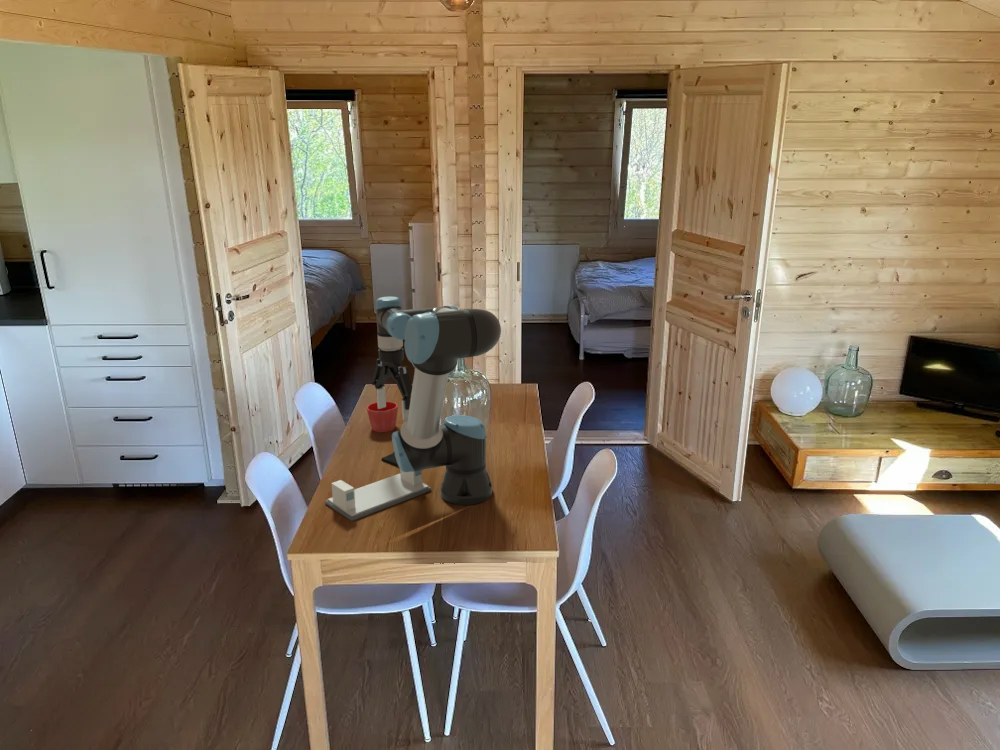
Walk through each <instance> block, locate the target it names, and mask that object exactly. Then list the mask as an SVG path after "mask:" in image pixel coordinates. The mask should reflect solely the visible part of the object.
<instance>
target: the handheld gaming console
mask: <svg viewBox="0 0 1000 750" xmlns="http://www.w3.org/2000/svg"><path fill="white" fill-rule="evenodd" d="M381 461H383V462H385V463H387V464H390V465H392V466H395V467H398V468H399V466H398V464H397V460H396V457H395V453H394V451H393V452H392V453H390V454H388V455H386V456H383V457H381Z"/></svg>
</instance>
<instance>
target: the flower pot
mask: <svg viewBox="0 0 1000 750" xmlns="http://www.w3.org/2000/svg"><path fill="white" fill-rule="evenodd" d="M398 405H399V404H398V403H396V402H393V401H386V407H384V408H381V409H378V404H377V401H376V402H372V403H370V404H369V405H367V407H366V412H367V415H368V416H367V417H368V420H369V423H370V427H371V429H372V431H373V432H375V433H387V432H391V431H393V430H394V429H396V425H397V418H398V417H397V416H398V409H399V406H398Z"/></svg>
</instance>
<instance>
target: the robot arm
mask: <svg viewBox="0 0 1000 750" xmlns="http://www.w3.org/2000/svg"><path fill="white" fill-rule="evenodd" d="M402 308H403V306H402V300H401V298H399V297H398V296H390V295H389V296H382V297H378V298H377V299H376V301H375V312H376V314H375V315H376V327H377V330H376V331H377V347H378V358H377V359H375V368H374V372H373V376H372V379H371V385H372V386H374V387H375V389H376V398H377V399H376V400H377V401H376V402H377V404H378V409H381V408H384V407H386V402H387V400H386V399H387V398H386V397H387V396H386V387H385V383H386V382H387V380H388V378H391V379H392V380H393V382H395V384H396V386H397V388H398V390H399V392H400V394H401V396H402V398H401V415H402V420H403V422H402V423H401V427H400V430H396V431H393V432H391V433H392V434H391V442H392V447H393V452H394V453H395V457H396V460H397V464H398V466H399V467H398V466H397V467H398V468H399V471H400V470H401V471H403V472H412V471H413V472H416V471H419V470H422V471H425V470H429V469H434V468H440V467H445V472H444V475H443V478H442V482H441V485H440V497H441V499H443V500H444V501H445V502H447V503H449V504H453V505H457V506H459V505H460V506H468V505H469V506H470V505H471V506H472V505H478V504H481V503H483V502H485V501H487V500H489V499H490V498H491V497H492V494H493V484H492V482H491V478H490V476H489V473H488V470H487V454H486V453H487V433H486V425H485V423H484V422H483V421H482V420H480V419H479V418H477V417H474V416H470V415H452V416H449V417H446V418H445V420H444V419H443V420H444V424H443V423H442V424H440V422H441V418H442V417H441V416H442V413H443V408H444V403H445V402H444V401H445V397H446V391H447V386H448V381H449V375H450V373H452V372H454V370H455V369H456V368H457V365H458V363H459V362H458V361H459V359H465V358H472V357H478V356H482V355H484V354H487V353H488V352H489V351H491V350H492V349H494V347H495V346H496V345H497V344H498V343H499V340H500V338H501V335H502V326H501V323H500V321H499V320H500V319H498V317H497V316H496V315H495V314H494V313H493V312H491V311H489V310H485V309H482V308H467V309H465V308H464V309H459V307H457V306H455V305H443V306H437V307H436V306H435V307H426V308H425V307H424V308H414V309H413V308H412V309H402ZM403 340H404V341H403ZM403 346H404V348H403ZM404 354H405V356H406V358H407V360H408V362H410V363H411V364H412V366H413V368H414V373H413V374H414V375H413V378H412V379H413V380H411V377H410V374H409V367H408V366H402V363H401V362H402V361H403V360H404V359H405V356H404Z"/></svg>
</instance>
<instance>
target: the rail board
mask: <svg viewBox="0 0 1000 750" xmlns="http://www.w3.org/2000/svg"><path fill="white" fill-rule="evenodd" d="M431 491H432V487H430V486H429V485H428V484H426V483H424V482H423V470H419V471H416V472H413V471H412V472H403V471H401V470H400V469H399V473H398V474H395V475H394V474H393V475H392V476H389V477H386V478H383V479H380V480H378V481H375V482H372V483H369V484H366V485H363V486H361V487H358V488H355V487H353V486H352V485H351V484H348V483H346V482H345V481H344V480H342V479H339V480H337V481H334V482H331V493H332V494H331V495H332V497H329V498H327V499H325V501H324V502H325V503H324V504H326V506H328V507H330V508H331V509H332V510H334V511H336V512H337V513H339V514H340V515H342V516H343V517H345V518H346V519H348V520H349V521H351V522H353V521H357V520H358V519H361V518H364V517H366V516H369V515H372V514H374V513H376V512H379V511H382V510H384V509H388V508H389V507H392V506H395V505H397V504H400V503H402V502H405V501H408V500H411V499H413V498H415V497H418V496H421V495H424V494H426V493H428V492H431Z"/></svg>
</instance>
